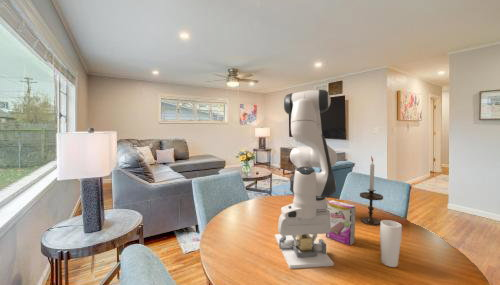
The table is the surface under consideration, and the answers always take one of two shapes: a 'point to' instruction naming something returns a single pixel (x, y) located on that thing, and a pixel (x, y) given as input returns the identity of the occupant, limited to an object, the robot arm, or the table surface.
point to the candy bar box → (342, 222)
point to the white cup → (390, 242)
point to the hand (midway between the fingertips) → (304, 244)
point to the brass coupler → (304, 243)
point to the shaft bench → (303, 253)
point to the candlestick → (371, 199)
